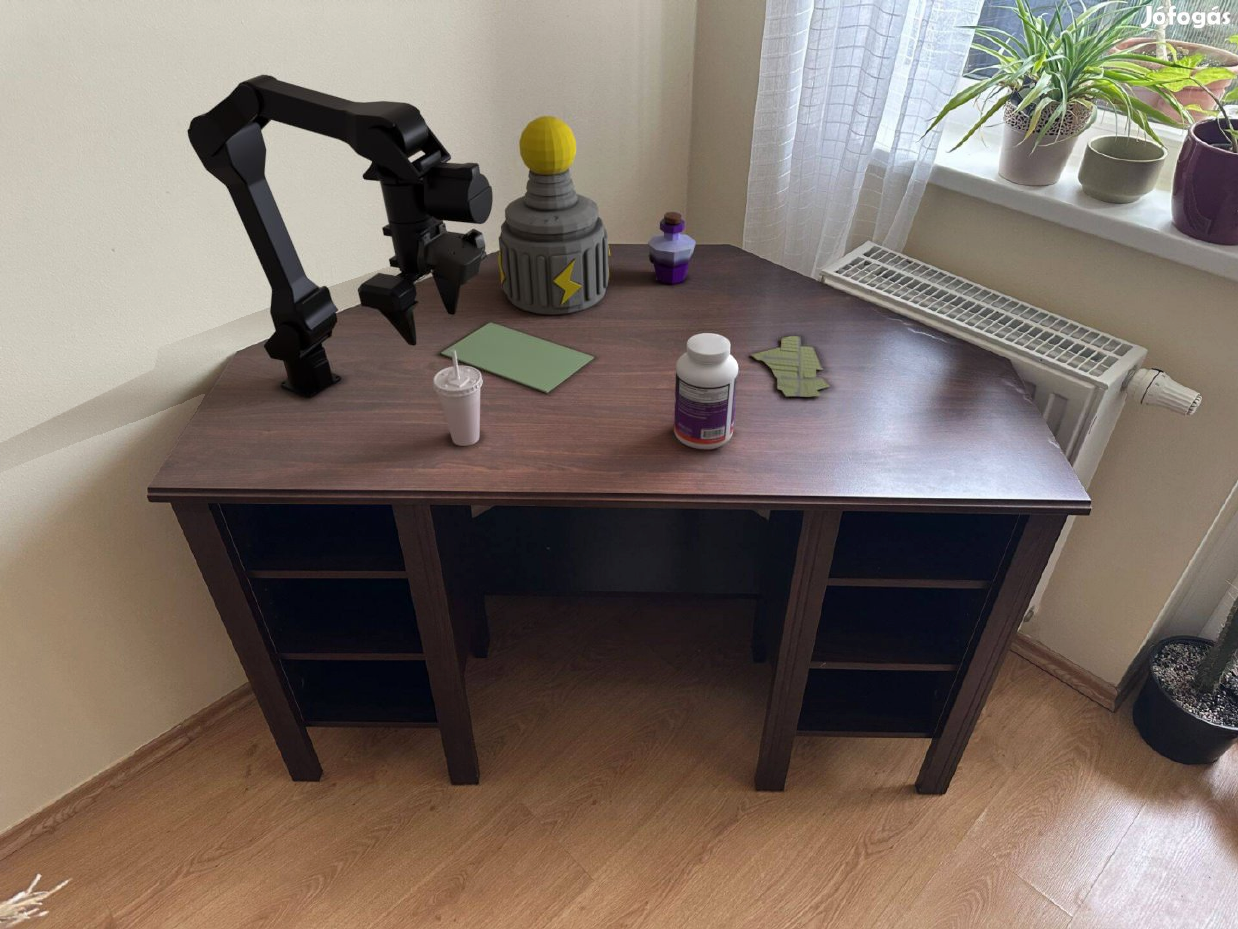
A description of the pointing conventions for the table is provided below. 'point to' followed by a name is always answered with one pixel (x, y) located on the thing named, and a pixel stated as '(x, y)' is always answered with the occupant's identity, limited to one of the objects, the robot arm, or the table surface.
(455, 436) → the smoothie
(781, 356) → the olive flat irregular sheet
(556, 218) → the decorative lamp
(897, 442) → the table surface
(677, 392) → the pill bottle
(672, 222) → the potion bottle
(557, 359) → the green cloth
